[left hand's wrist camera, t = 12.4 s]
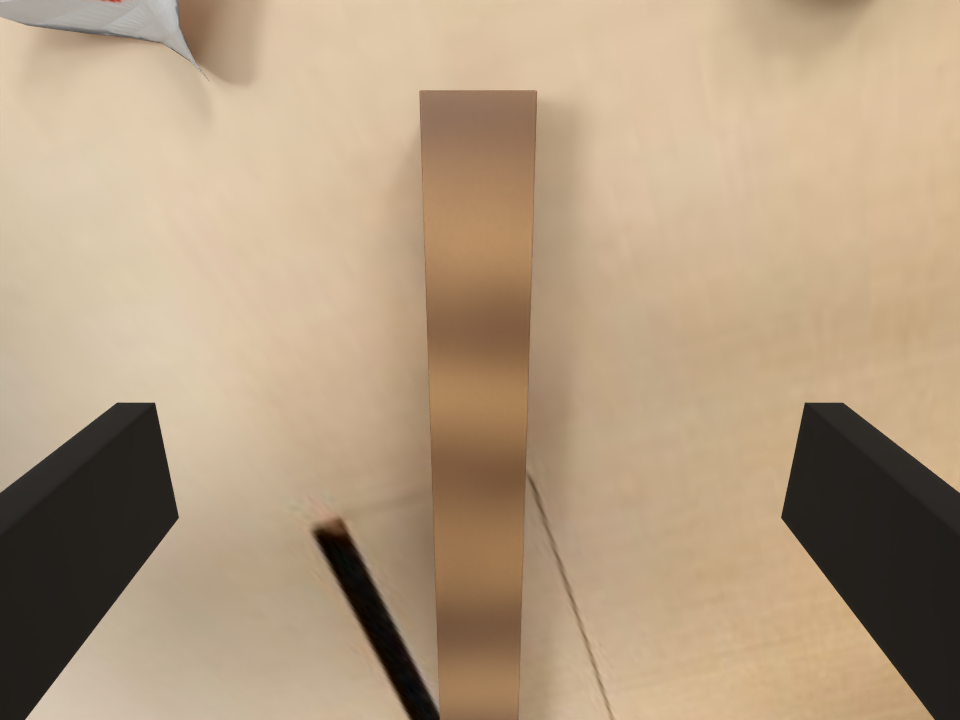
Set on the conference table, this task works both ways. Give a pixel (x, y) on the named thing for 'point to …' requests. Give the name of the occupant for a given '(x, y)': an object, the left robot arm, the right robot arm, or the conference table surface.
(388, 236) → the conference table surface
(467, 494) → the post
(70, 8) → the red white curved piece
